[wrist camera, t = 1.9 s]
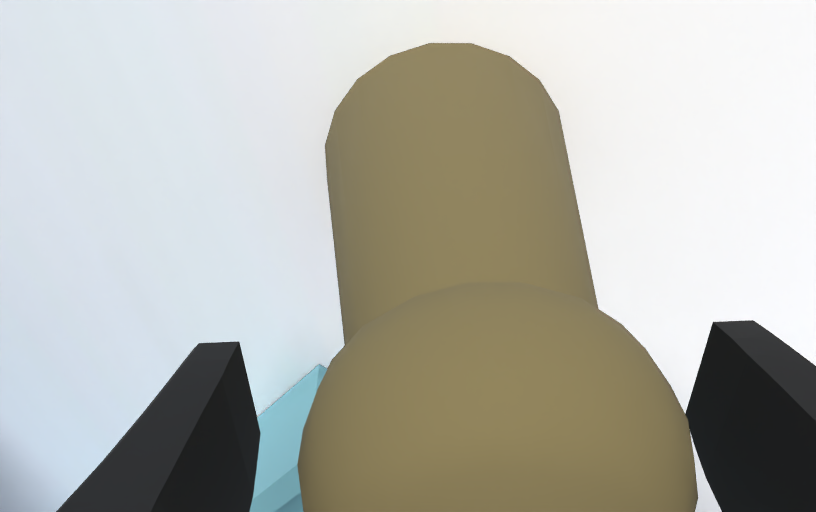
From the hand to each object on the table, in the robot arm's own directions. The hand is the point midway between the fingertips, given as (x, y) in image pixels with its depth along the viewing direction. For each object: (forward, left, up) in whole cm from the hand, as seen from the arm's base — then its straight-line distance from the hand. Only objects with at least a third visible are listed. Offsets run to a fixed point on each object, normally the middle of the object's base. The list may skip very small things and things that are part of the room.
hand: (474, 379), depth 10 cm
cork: (0, 0, -8) cm, 8 cm away
